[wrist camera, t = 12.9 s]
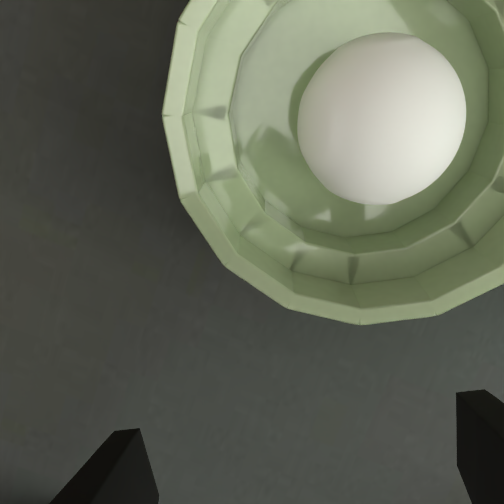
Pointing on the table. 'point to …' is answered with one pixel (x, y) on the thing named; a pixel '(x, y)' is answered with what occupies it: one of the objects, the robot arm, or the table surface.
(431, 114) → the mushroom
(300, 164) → the bowl
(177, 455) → the table surface
